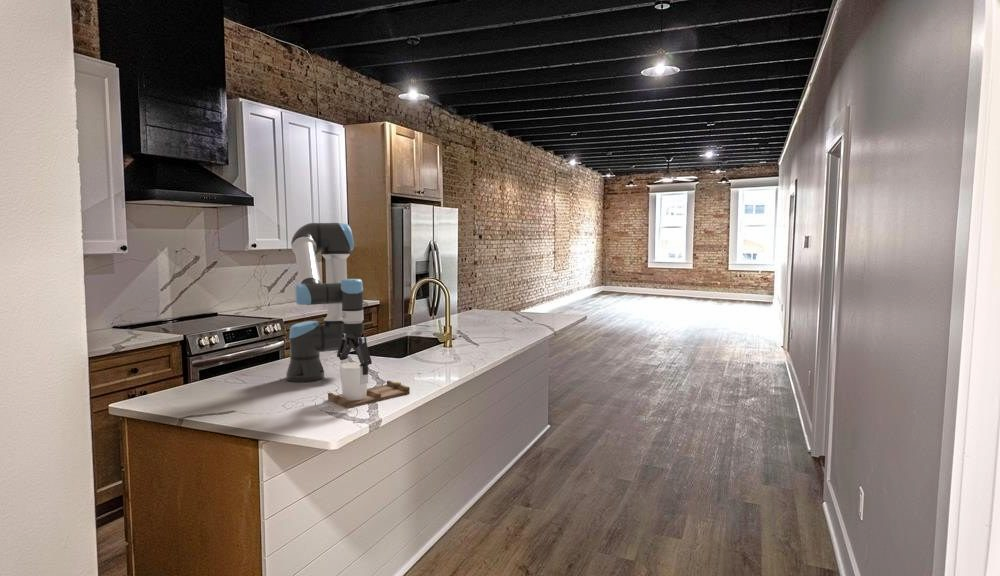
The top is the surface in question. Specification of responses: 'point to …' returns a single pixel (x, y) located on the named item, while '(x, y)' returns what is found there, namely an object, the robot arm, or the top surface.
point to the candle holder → (352, 382)
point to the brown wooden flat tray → (373, 394)
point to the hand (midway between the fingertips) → (354, 380)
